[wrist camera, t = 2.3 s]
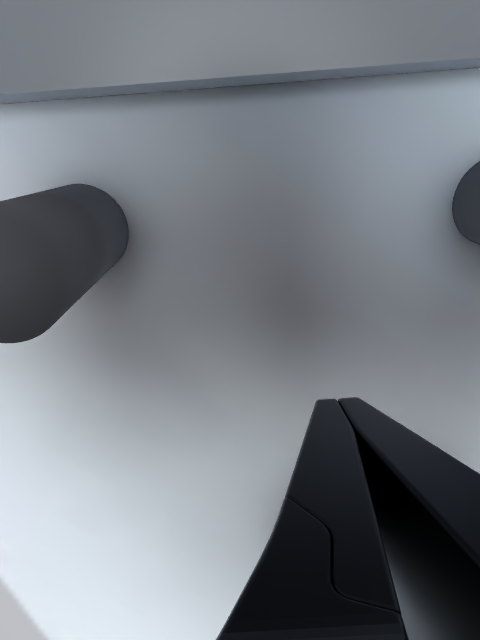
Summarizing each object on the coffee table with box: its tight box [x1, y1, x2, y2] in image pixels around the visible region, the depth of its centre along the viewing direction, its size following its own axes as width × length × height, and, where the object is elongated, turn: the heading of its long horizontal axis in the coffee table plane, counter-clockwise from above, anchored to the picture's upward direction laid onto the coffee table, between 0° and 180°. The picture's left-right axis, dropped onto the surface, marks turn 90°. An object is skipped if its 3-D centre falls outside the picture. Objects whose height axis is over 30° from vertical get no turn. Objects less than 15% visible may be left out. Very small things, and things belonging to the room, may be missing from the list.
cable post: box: [0, 184, 128, 343], centre depth 12 cm, size 3×3×6 cm
